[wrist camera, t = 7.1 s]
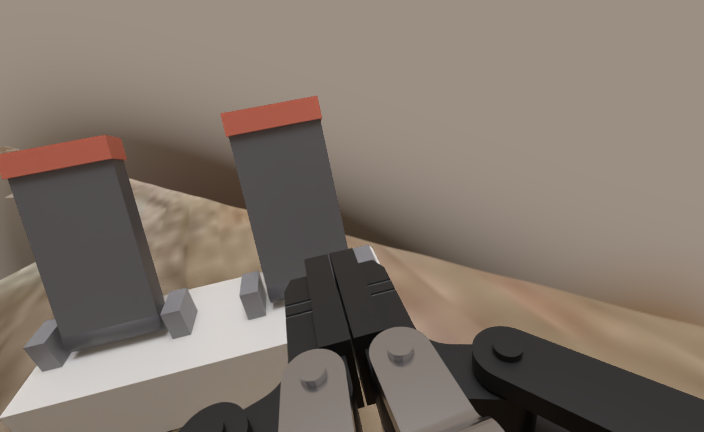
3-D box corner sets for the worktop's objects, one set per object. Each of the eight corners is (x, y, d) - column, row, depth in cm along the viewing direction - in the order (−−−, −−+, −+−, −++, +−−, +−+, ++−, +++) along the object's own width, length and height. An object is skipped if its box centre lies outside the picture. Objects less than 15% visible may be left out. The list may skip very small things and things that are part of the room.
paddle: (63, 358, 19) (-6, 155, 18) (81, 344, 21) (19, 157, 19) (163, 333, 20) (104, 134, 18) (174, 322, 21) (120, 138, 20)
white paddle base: (45, 465, 19) (-26, 394, 16) (101, 360, 25) (57, 295, 22) (408, 364, 21) (400, 286, 18) (377, 290, 27) (368, 224, 24)
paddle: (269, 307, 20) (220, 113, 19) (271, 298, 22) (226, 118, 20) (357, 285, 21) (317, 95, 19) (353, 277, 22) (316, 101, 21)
